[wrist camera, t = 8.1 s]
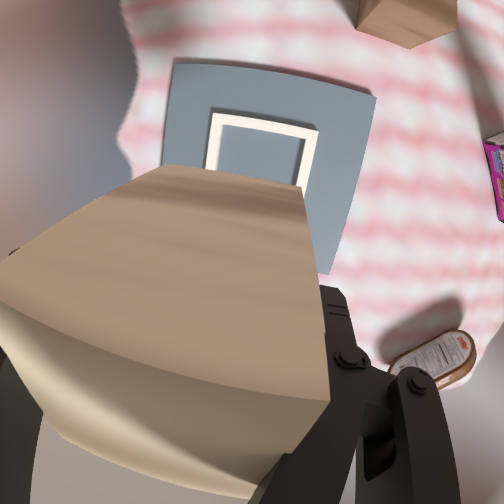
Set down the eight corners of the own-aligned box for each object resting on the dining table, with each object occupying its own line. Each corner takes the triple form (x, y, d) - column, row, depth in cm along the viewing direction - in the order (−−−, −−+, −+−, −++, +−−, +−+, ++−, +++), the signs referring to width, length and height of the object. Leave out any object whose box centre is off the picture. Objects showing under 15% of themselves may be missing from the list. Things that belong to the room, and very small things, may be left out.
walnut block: (361, -13, 18) (388, -55, 9) (413, 6, 17) (456, -23, 9) (355, 30, 20) (385, -4, 12) (409, 49, 20) (456, 29, 11)
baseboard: (178, 64, 24) (174, 62, 23) (373, 97, 24) (376, 97, 23) (161, 236, 33) (158, 240, 32) (327, 270, 33) (328, 274, 32)
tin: (384, 371, 40) (394, 413, 33) (379, 362, 39) (389, 405, 32) (464, 329, 35) (484, 366, 27) (462, 317, 34) (484, 355, 26)
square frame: (215, 112, 25) (213, 112, 25) (317, 131, 25) (318, 131, 24) (202, 207, 30) (200, 209, 29) (296, 225, 30) (296, 228, 29)
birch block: (166, 163, 12) (-27, 284, 3) (301, 186, 12) (330, 400, 3) (161, 276, 15) (62, 437, 6) (273, 300, 15) (250, 499, 6)
